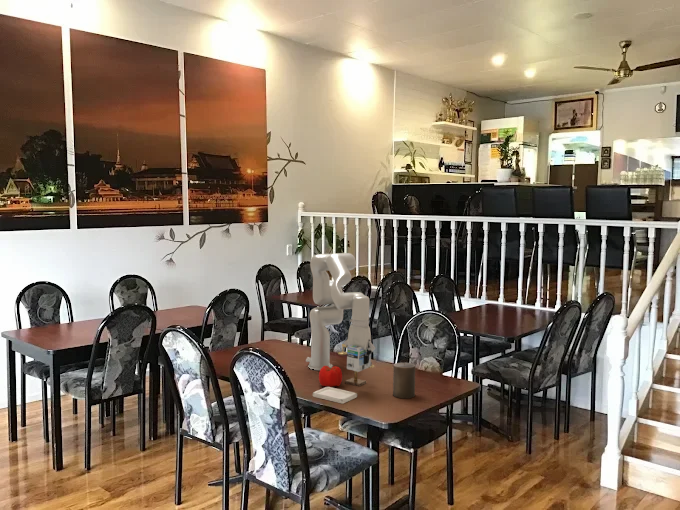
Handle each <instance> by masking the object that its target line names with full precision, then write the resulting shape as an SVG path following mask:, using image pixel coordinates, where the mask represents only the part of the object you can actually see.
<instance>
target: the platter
mask: <svg viewBox="0 0 680 510" xmlns="http://www.w3.org/2000/svg"><path fill="white" fill-rule="evenodd" d="M312 397H313V398H317V399H320V400H321V399H323V400H326V401H330V402H334V403H338V404H346V403H347V402H349V401H352V400H354V399H355V398H357V397H358V393H357V392H354V391H350V390H349V391H348V390H345V389H341V388H335V387H327V386H326V387H323V388H321V389H318V390H316V391H314V392H312Z"/></svg>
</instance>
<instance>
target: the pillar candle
mask: <svg viewBox="0 0 680 510" xmlns="http://www.w3.org/2000/svg"><path fill="white" fill-rule="evenodd" d="M392 378H393V379H392V380H393V382H392V386H393V387H392V395H393V397H395V398H399V399H411V398H412V397H413V398H414V397H415V396H416V394H415V393H416V364H414V363H411V362H405V361H404V362H396V363H393V377H392Z"/></svg>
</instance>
